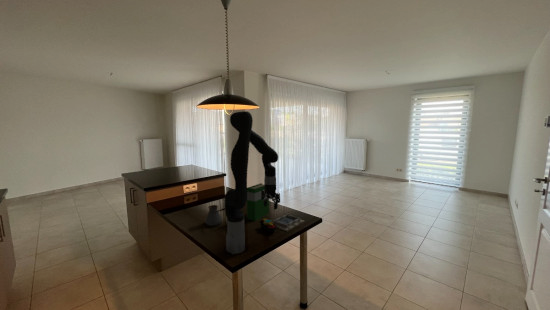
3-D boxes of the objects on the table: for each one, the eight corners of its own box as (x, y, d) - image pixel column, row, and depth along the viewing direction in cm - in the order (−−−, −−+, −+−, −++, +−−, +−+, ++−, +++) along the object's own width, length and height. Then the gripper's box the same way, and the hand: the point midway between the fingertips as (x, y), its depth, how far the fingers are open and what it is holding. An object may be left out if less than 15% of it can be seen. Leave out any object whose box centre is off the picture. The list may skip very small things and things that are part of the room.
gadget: (269, 235, 136) (270, 227, 135) (259, 226, 146) (259, 218, 145) (278, 232, 139) (278, 224, 138) (267, 224, 150) (267, 216, 149)
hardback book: (261, 212, 175) (261, 183, 173) (269, 214, 171) (268, 184, 169) (247, 219, 160) (246, 187, 158) (255, 221, 156) (254, 189, 154)
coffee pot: (201, 225, 150) (200, 204, 149) (214, 219, 160) (214, 200, 158) (222, 233, 138) (222, 210, 137) (235, 226, 148) (235, 205, 146)
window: (287, 231, 140) (287, 226, 140) (268, 224, 151) (268, 220, 151) (304, 222, 155) (304, 218, 155) (286, 216, 166) (286, 212, 166)
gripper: (258, 182, 139) (258, 206, 141) (274, 185, 130) (275, 211, 131) (266, 180, 145) (266, 203, 146) (282, 183, 135) (282, 208, 137)
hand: (270, 207), depth 139 cm, fingers open, 8 cm apart
